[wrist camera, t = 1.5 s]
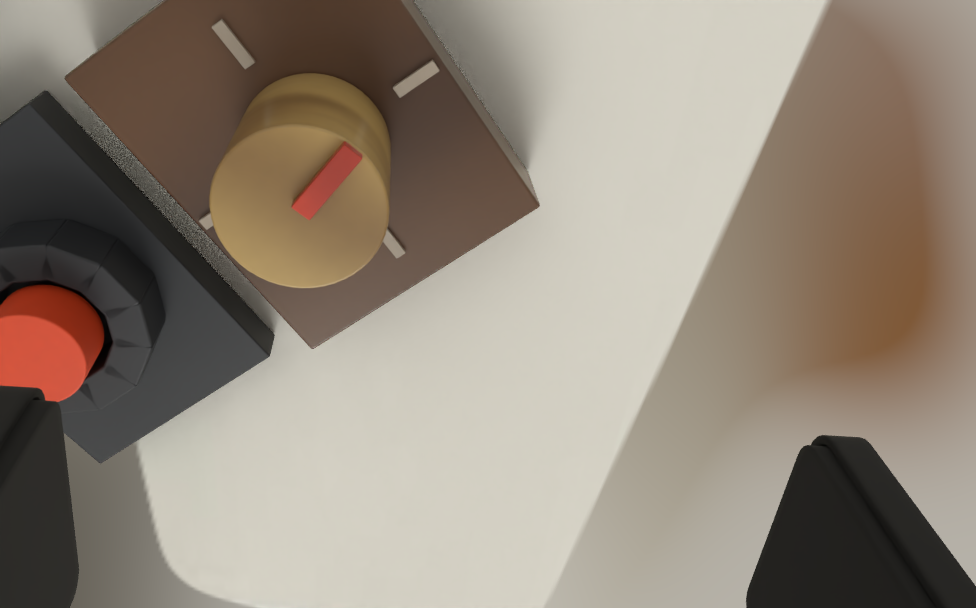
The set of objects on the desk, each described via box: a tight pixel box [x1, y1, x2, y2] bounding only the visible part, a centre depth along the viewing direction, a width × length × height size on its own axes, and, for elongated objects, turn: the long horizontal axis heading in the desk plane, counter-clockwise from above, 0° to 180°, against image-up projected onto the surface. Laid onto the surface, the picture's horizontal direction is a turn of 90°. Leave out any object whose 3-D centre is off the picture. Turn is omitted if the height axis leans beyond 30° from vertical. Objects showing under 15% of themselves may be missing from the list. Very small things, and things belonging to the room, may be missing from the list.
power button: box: [0, 284, 104, 402], centre depth 27 cm, size 3×3×2 cm
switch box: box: [0, 91, 275, 463], centre depth 29 cm, size 11×8×4 cm
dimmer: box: [65, 0, 540, 349], centre depth 27 cm, size 11×9×3 cm
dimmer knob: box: [209, 73, 391, 288], centre depth 24 cm, size 4×4×5 cm
